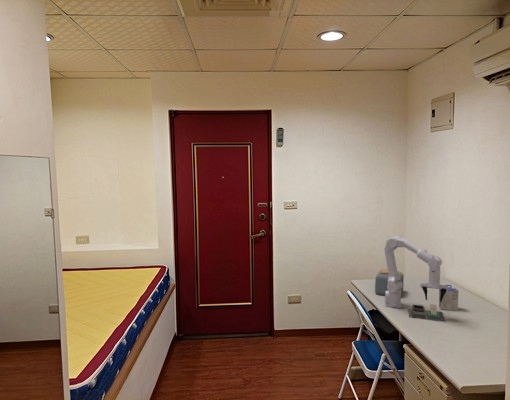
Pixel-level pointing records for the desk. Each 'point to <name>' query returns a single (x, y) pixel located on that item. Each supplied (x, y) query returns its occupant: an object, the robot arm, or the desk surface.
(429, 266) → the robot arm
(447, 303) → the ink cartridge box
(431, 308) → the plug
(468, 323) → the desk surface
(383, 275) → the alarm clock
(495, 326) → the desk surface
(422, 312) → the jack panel
